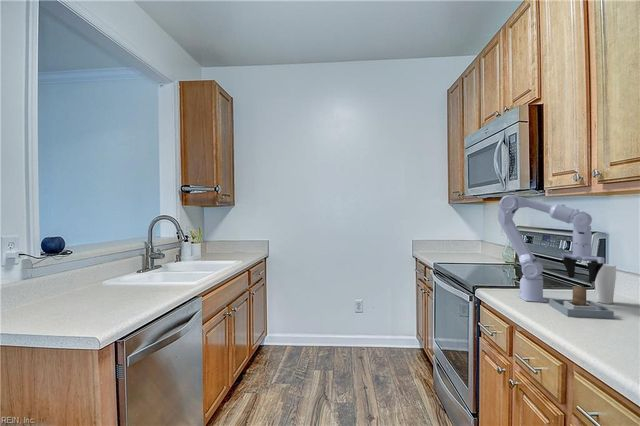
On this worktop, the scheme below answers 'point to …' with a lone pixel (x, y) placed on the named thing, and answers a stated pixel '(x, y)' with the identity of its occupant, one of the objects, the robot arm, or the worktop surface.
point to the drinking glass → (605, 284)
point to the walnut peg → (579, 296)
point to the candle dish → (581, 309)
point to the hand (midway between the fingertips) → (581, 279)
